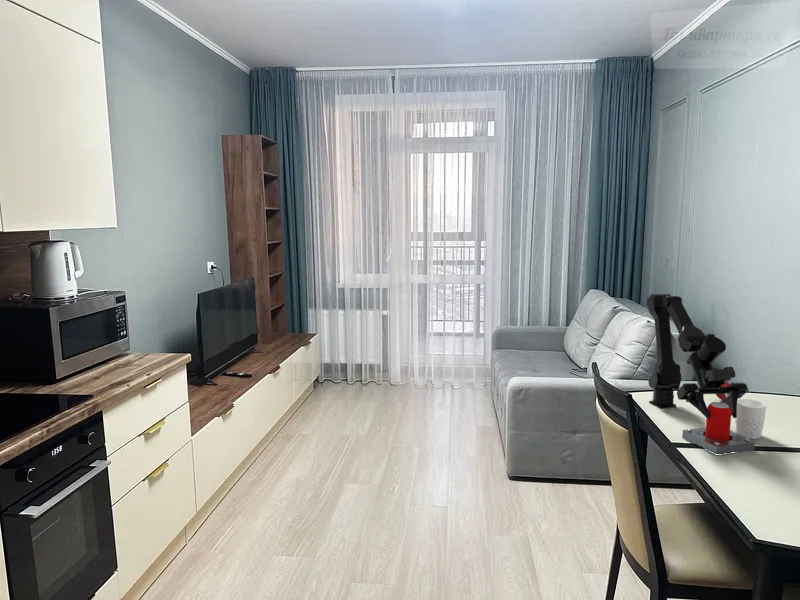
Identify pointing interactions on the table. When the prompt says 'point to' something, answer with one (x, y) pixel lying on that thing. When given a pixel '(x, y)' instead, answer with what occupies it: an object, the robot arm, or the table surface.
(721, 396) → the onion
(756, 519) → the table surface
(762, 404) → the white cup
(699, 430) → the housing
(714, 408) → the beverage can
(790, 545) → the table surface
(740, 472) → the table surface
